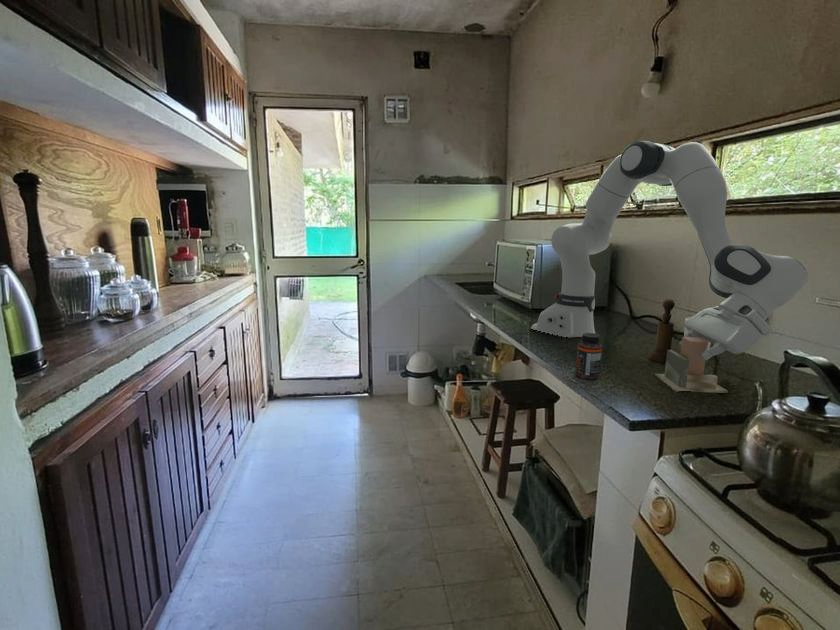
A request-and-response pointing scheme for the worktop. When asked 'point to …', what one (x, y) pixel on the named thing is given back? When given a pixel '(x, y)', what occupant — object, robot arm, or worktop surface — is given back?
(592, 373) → the supplement bottle
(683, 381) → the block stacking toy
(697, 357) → the pink rectangular block
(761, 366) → the worktop surface
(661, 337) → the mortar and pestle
